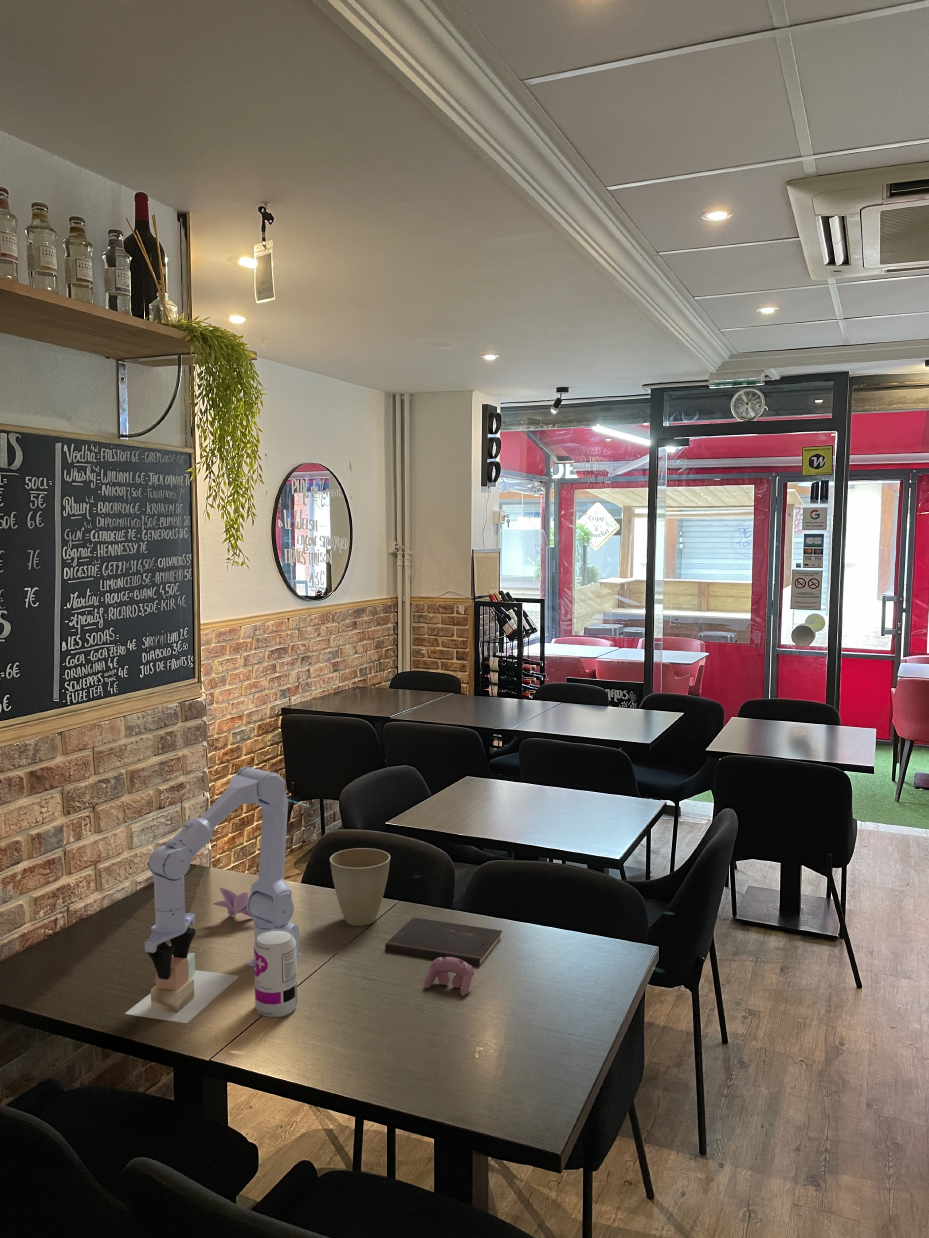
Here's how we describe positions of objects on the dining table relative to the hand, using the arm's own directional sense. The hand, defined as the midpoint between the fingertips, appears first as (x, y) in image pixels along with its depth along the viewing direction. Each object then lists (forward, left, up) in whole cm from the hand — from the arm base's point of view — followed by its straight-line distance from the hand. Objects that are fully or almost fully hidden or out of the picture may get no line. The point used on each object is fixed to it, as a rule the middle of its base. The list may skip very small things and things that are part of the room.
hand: (172, 971), depth 181 cm
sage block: (+5, -10, -7) cm, 13 cm away
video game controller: (-52, -22, -7) cm, 57 cm away
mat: (0, -4, -7) cm, 8 cm away
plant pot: (-21, -49, -7) cm, 54 cm away
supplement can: (-21, -4, -7) cm, 23 cm away
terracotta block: (0, 0, -3) cm, 3 cm away
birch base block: (0, 0, -7) cm, 7 cm away
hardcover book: (-45, -41, -8) cm, 61 cm away
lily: (+8, -40, -7) cm, 41 cm away
